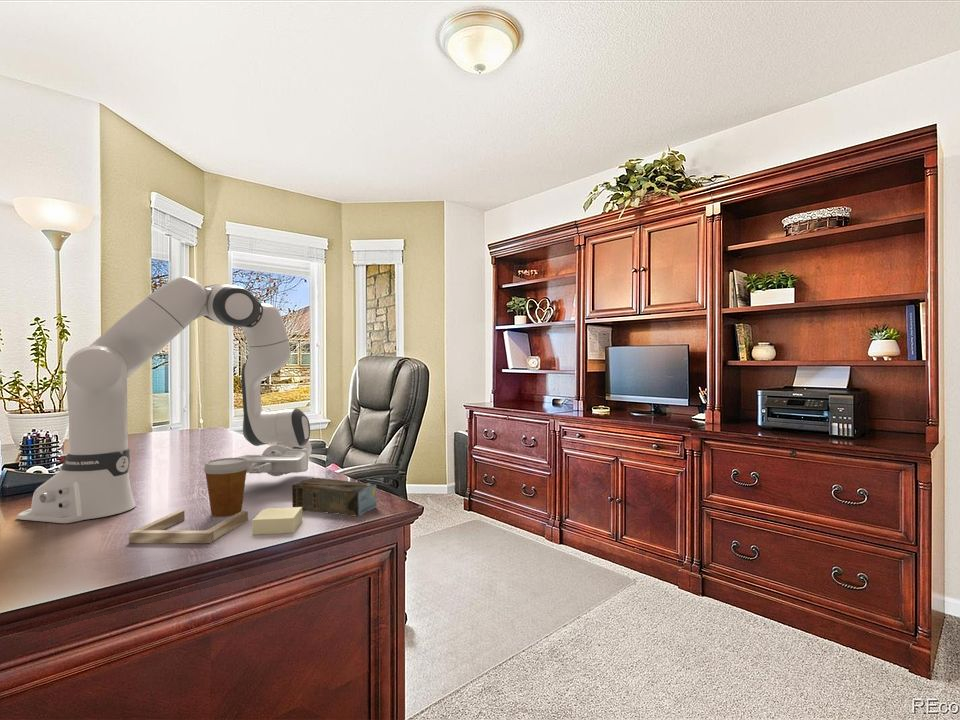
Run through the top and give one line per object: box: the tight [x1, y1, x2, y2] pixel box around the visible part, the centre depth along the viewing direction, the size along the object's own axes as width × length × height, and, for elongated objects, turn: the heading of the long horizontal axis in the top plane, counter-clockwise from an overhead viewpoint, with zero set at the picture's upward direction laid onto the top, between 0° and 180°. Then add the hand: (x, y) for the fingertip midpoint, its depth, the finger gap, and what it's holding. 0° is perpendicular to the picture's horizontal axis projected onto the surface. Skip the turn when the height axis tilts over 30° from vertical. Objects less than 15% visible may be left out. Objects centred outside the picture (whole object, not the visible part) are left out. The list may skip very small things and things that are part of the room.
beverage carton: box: [291, 476, 378, 517], centre depth 119 cm, size 8×19×7 cm, turn 70°
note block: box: [251, 506, 303, 536], centre depth 106 cm, size 8×8×3 cm
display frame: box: [128, 510, 249, 544], centre depth 104 cm, size 16×14×2 cm
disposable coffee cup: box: [202, 457, 249, 517], centre depth 116 cm, size 10×10×12 cm
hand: (254, 470), depth 129 cm, fingers closed
